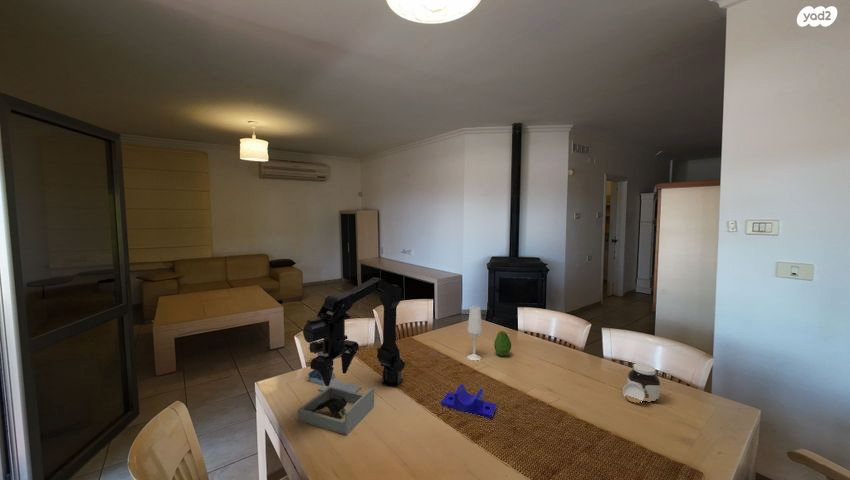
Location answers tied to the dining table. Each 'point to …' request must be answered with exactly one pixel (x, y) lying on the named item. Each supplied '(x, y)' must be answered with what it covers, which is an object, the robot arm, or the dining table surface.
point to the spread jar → (642, 382)
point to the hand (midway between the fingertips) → (336, 379)
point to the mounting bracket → (469, 402)
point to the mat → (341, 386)
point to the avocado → (502, 344)
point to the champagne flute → (474, 329)
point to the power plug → (333, 404)
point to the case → (352, 415)
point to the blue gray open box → (314, 377)
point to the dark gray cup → (318, 371)
